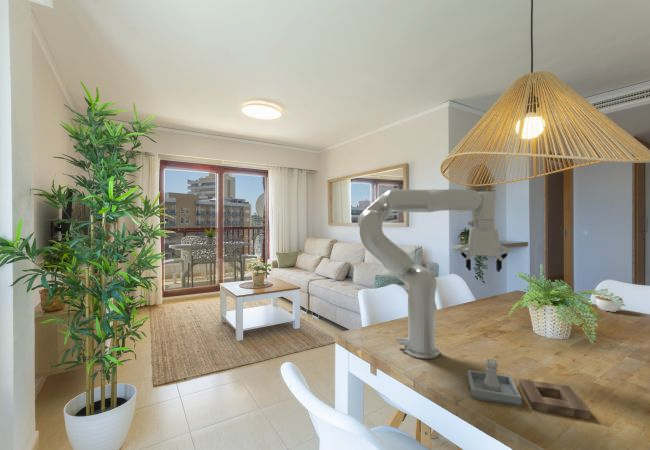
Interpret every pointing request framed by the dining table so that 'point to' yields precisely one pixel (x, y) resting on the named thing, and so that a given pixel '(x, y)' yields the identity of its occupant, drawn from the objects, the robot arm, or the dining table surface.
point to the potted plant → (607, 304)
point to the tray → (504, 396)
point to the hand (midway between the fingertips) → (483, 270)
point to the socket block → (565, 406)
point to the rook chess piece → (491, 376)
